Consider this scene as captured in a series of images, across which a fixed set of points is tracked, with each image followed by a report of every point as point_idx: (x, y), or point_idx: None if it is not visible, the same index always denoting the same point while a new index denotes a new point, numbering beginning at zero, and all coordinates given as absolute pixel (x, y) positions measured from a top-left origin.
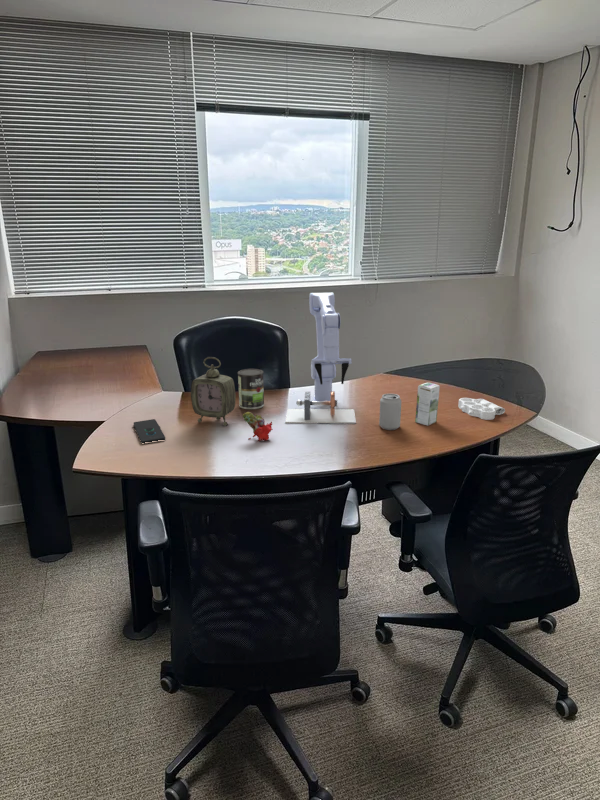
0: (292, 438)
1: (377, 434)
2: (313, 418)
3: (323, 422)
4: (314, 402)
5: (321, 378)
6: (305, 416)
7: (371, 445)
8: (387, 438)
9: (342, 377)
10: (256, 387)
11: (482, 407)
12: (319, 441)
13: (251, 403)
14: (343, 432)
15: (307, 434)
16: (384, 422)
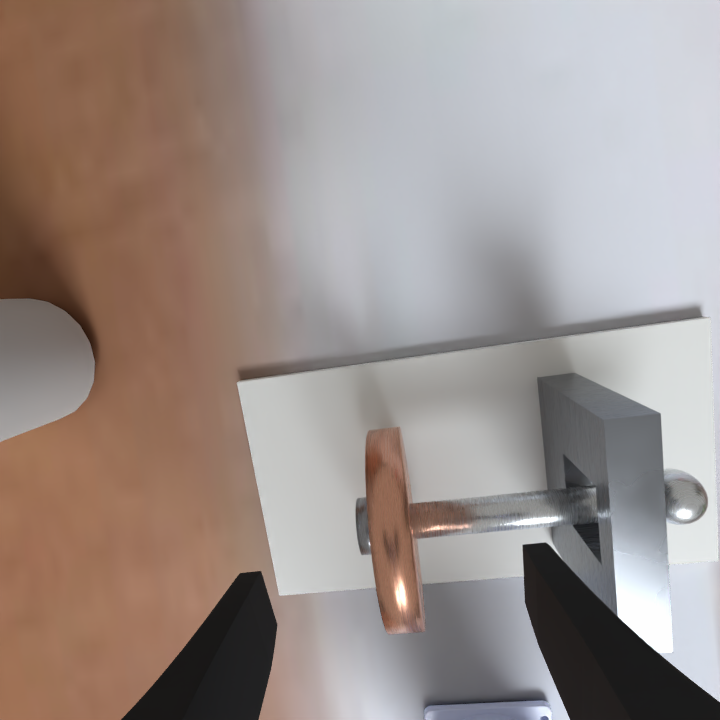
0: (618, 40)
1: (94, 228)
2: (514, 408)
3: (439, 354)
4: (545, 501)
5: (570, 605)
6: (577, 379)
7: (100, 39)
8: (31, 175)
9: (211, 646)
10: None
11: None
12: (424, 28)
13: None
14: (293, 222)
15: (521, 139)
16: (28, 308)
